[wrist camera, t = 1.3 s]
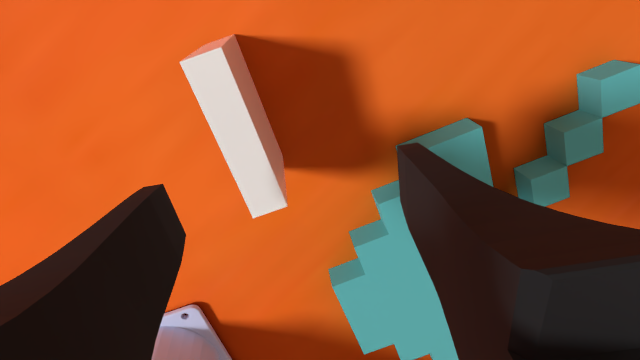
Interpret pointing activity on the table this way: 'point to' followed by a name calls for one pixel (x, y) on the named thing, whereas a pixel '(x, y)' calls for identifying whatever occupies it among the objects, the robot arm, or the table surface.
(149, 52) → the table surface
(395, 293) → the alien figure
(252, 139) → the tile
